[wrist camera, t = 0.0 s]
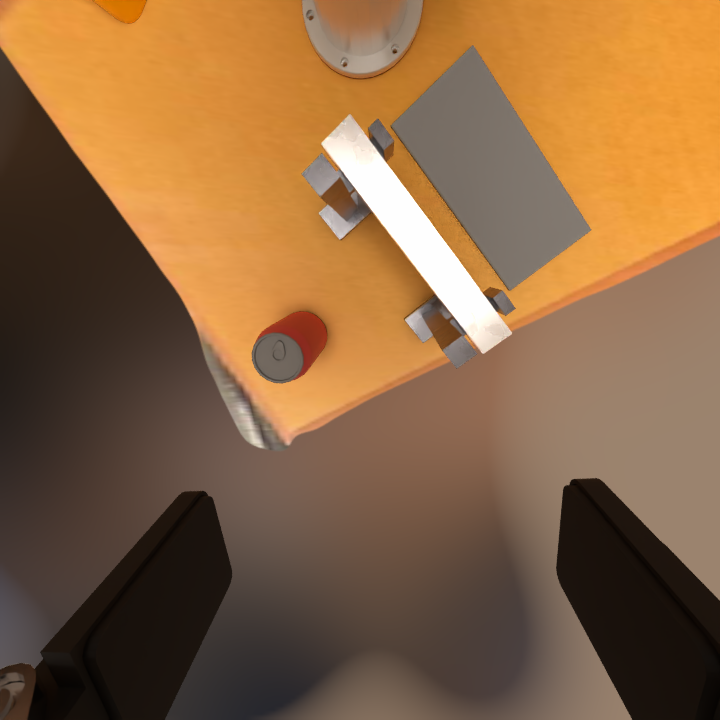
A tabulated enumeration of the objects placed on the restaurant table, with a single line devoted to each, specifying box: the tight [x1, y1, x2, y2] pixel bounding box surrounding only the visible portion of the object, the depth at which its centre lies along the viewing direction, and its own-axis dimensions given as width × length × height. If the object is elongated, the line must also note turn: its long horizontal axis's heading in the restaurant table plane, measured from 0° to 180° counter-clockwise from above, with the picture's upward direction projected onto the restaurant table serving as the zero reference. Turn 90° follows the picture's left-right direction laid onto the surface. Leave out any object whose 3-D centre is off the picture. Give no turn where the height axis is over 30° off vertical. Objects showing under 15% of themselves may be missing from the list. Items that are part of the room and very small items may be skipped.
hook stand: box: [302, 119, 516, 368], centre depth 34 cm, size 21×9×18 cm, turn 40°
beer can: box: [252, 312, 327, 383], centre depth 40 cm, size 7×7×12 cm
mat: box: [391, 45, 591, 290], centre depth 39 cm, size 24×11×1 cm, turn 40°
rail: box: [321, 114, 512, 354], centre depth 29 cm, size 22×3×3 cm, turn 40°
